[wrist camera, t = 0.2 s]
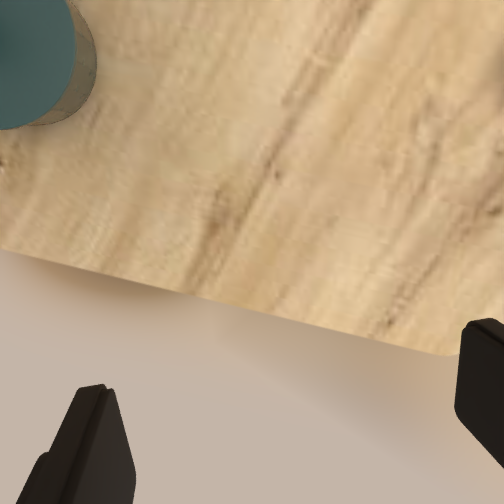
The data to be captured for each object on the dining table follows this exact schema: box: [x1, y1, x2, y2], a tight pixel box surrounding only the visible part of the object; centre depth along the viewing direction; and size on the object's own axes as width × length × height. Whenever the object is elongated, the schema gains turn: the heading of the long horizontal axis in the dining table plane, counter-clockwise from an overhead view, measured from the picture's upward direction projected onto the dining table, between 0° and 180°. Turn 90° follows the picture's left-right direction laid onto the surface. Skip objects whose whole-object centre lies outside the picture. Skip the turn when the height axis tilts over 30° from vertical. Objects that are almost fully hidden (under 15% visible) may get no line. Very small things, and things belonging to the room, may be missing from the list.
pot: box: [29, 0, 97, 125], centre depth 29 cm, size 12×12×8 cm
